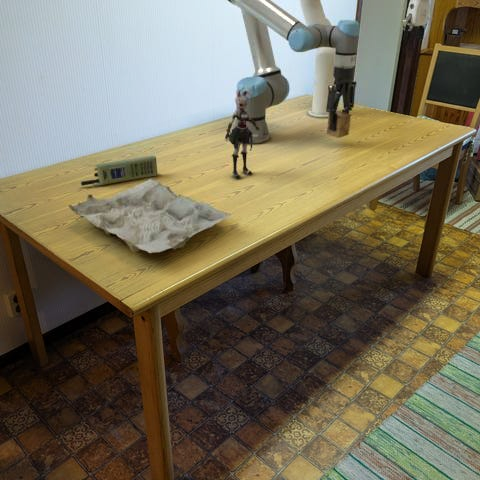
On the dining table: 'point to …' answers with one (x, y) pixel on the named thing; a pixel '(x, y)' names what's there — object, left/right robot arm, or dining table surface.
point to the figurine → (241, 131)
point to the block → (340, 125)
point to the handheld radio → (124, 170)
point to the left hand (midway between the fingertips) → (338, 128)
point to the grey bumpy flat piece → (149, 216)
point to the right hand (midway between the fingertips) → (412, 39)
